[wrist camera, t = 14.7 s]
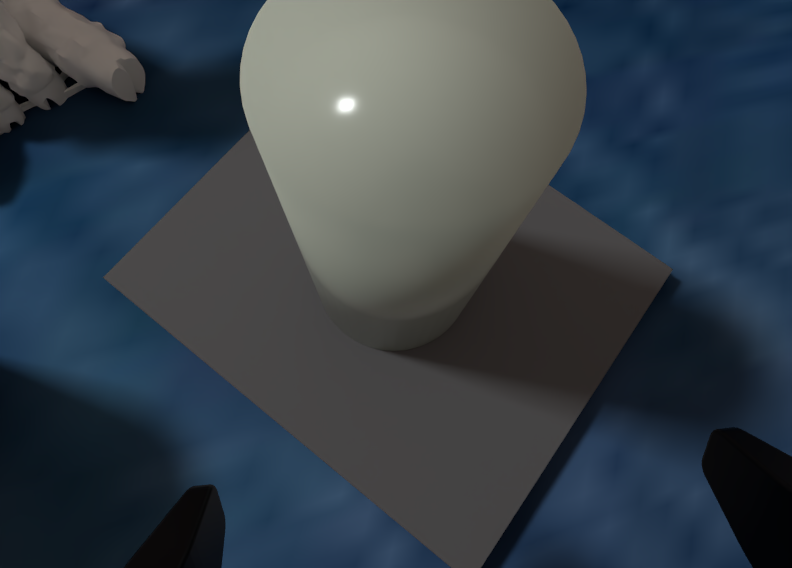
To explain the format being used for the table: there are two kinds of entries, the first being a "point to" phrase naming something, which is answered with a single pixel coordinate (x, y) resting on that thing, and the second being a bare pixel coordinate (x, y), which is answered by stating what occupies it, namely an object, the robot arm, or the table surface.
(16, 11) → the sitting furry creature
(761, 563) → the robot arm
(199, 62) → the table surface
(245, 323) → the mat
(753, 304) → the table surface
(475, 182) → the light bulb
